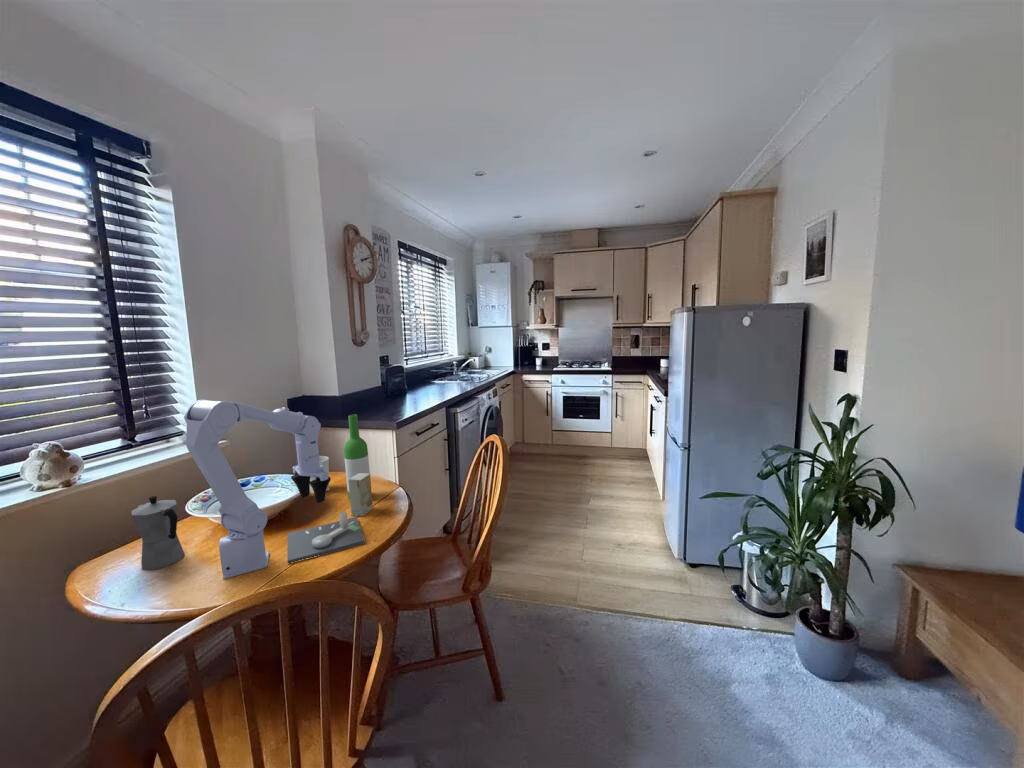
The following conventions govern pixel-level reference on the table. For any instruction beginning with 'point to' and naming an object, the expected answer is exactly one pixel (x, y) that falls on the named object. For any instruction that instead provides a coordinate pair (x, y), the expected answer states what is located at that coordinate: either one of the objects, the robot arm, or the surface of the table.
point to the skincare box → (360, 494)
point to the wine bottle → (355, 452)
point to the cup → (324, 462)
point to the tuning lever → (327, 538)
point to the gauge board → (302, 539)
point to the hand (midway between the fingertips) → (312, 499)
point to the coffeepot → (158, 533)
